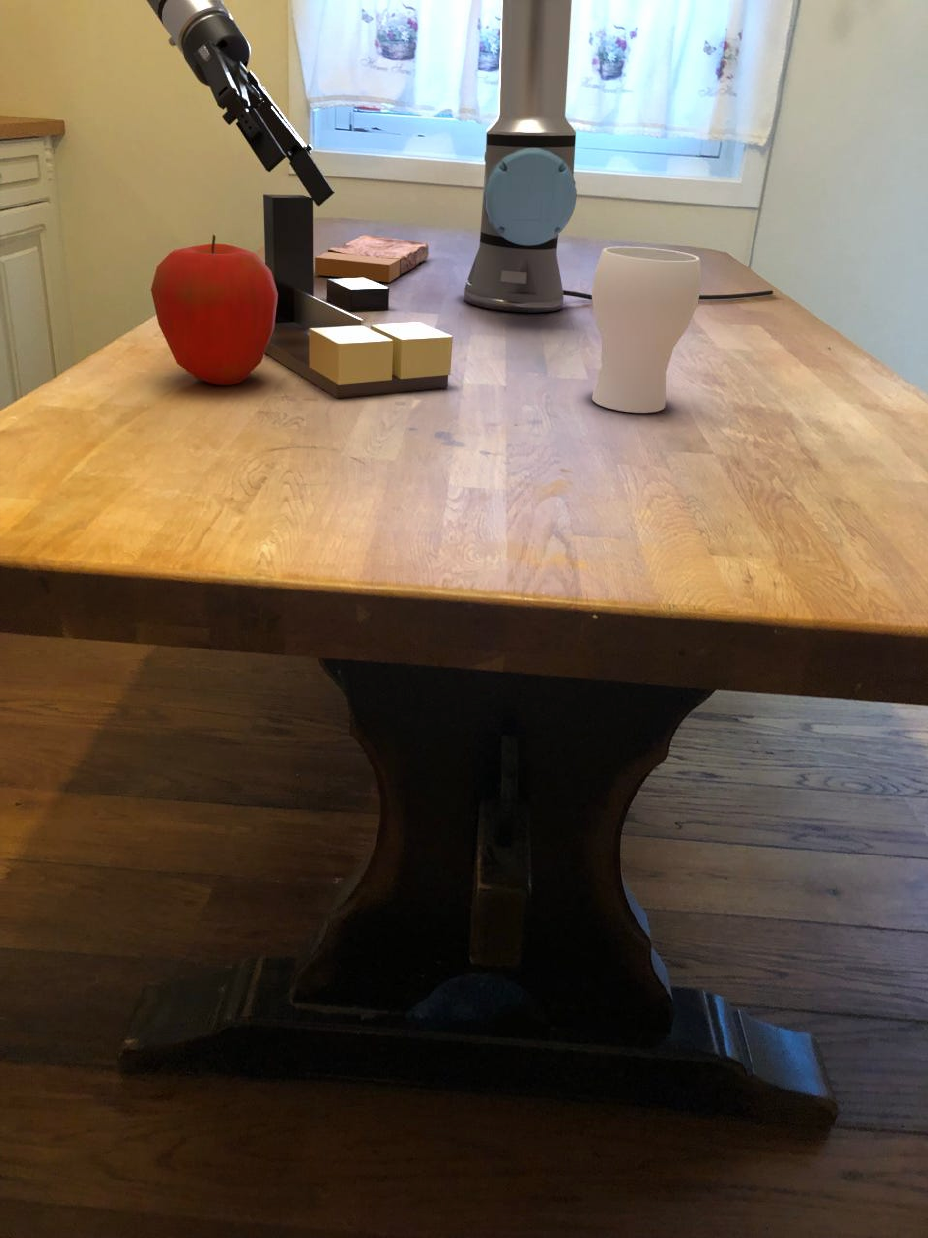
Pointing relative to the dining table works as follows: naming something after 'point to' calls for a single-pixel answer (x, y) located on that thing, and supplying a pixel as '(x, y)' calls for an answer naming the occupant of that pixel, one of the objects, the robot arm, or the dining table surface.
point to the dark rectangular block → (357, 294)
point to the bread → (371, 258)
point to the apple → (215, 310)
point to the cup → (641, 322)
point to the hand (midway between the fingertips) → (302, 182)
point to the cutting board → (294, 353)
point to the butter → (379, 352)
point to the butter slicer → (296, 264)
